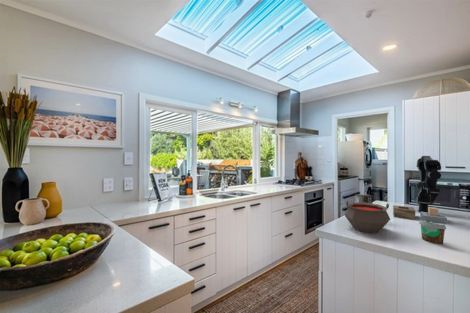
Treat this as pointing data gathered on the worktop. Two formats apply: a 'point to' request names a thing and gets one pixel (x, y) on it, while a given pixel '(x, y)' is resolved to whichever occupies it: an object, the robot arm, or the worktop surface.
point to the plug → (432, 211)
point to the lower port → (434, 217)
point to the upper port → (404, 212)
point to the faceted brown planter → (367, 216)
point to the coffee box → (363, 198)
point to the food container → (432, 231)
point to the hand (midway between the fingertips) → (430, 200)
